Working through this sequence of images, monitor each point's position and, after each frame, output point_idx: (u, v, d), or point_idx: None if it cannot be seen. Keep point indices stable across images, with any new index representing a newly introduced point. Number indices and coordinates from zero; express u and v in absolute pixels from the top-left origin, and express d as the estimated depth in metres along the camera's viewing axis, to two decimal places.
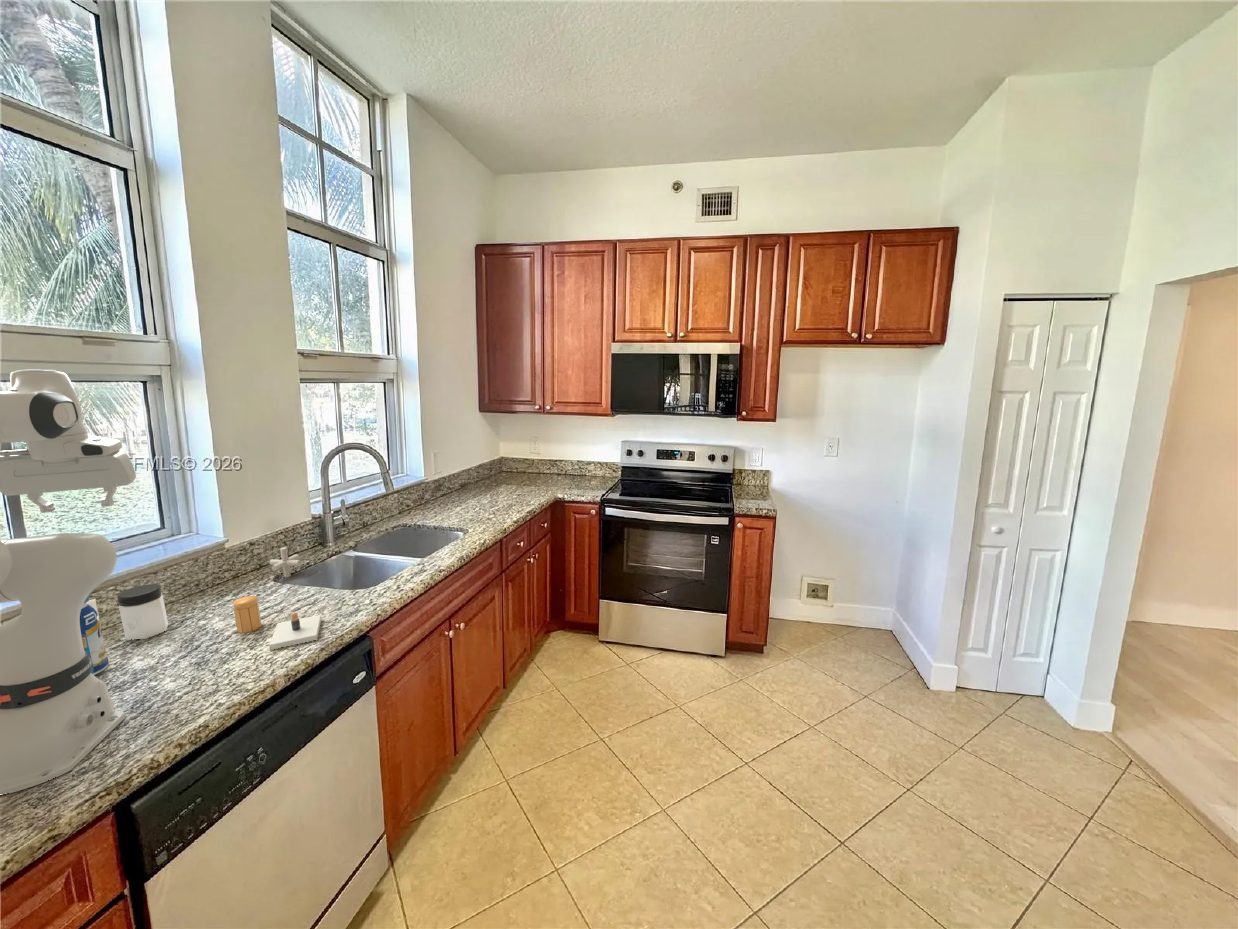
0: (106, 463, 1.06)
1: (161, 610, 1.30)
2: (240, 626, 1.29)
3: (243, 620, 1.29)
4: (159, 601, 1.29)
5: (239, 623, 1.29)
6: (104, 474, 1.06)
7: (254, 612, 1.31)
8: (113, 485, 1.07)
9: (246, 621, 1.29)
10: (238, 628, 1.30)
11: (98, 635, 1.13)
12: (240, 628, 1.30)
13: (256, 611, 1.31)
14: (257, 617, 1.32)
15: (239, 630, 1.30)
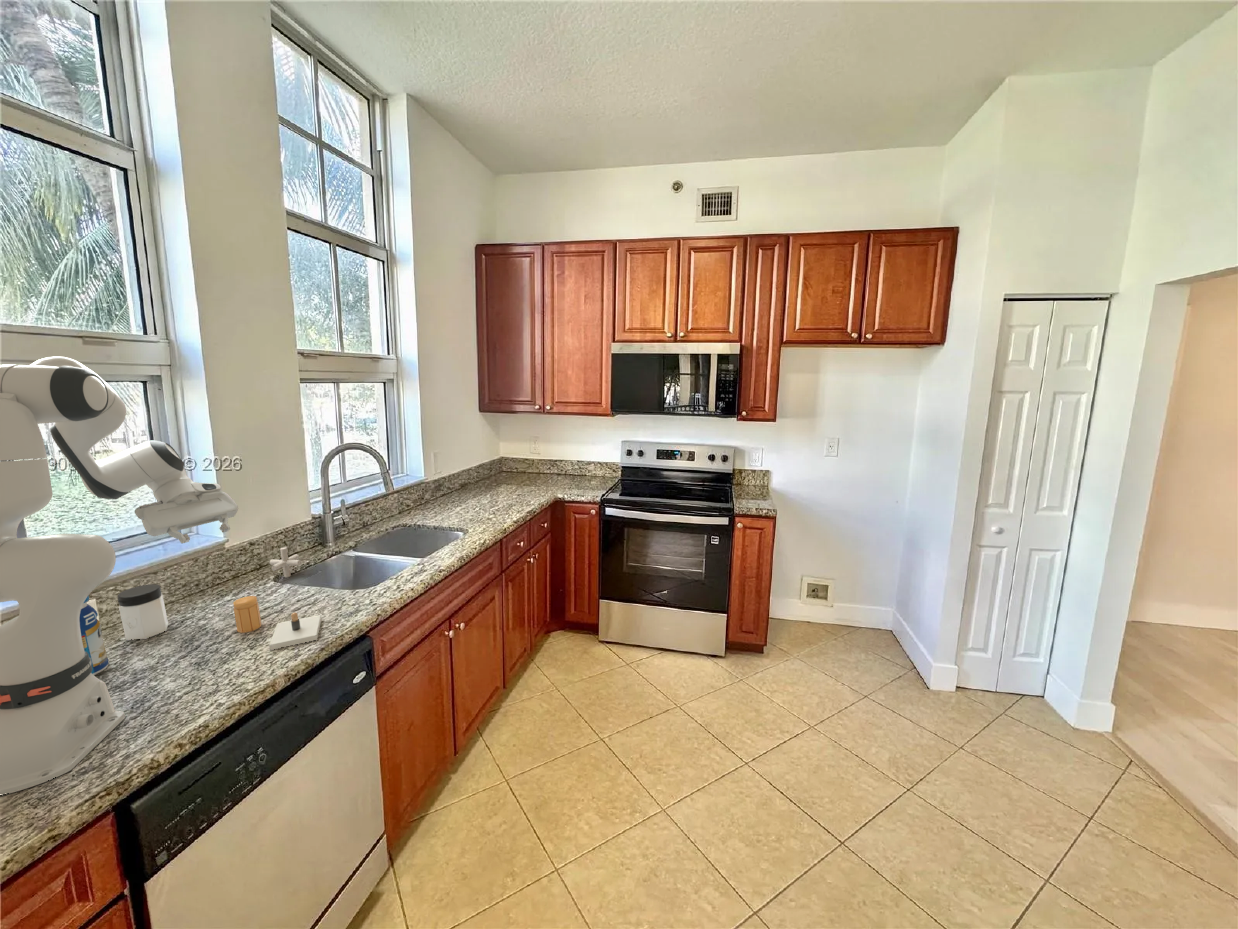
0: (218, 498, 1.40)
1: (161, 610, 1.30)
2: (240, 626, 1.29)
3: (243, 620, 1.29)
4: (159, 601, 1.29)
5: (239, 623, 1.29)
6: (219, 504, 1.38)
7: (254, 612, 1.31)
8: (228, 511, 1.39)
9: (246, 621, 1.29)
10: (238, 628, 1.30)
11: (98, 635, 1.13)
12: (240, 628, 1.30)
13: (256, 611, 1.31)
14: (257, 617, 1.32)
15: (239, 630, 1.30)
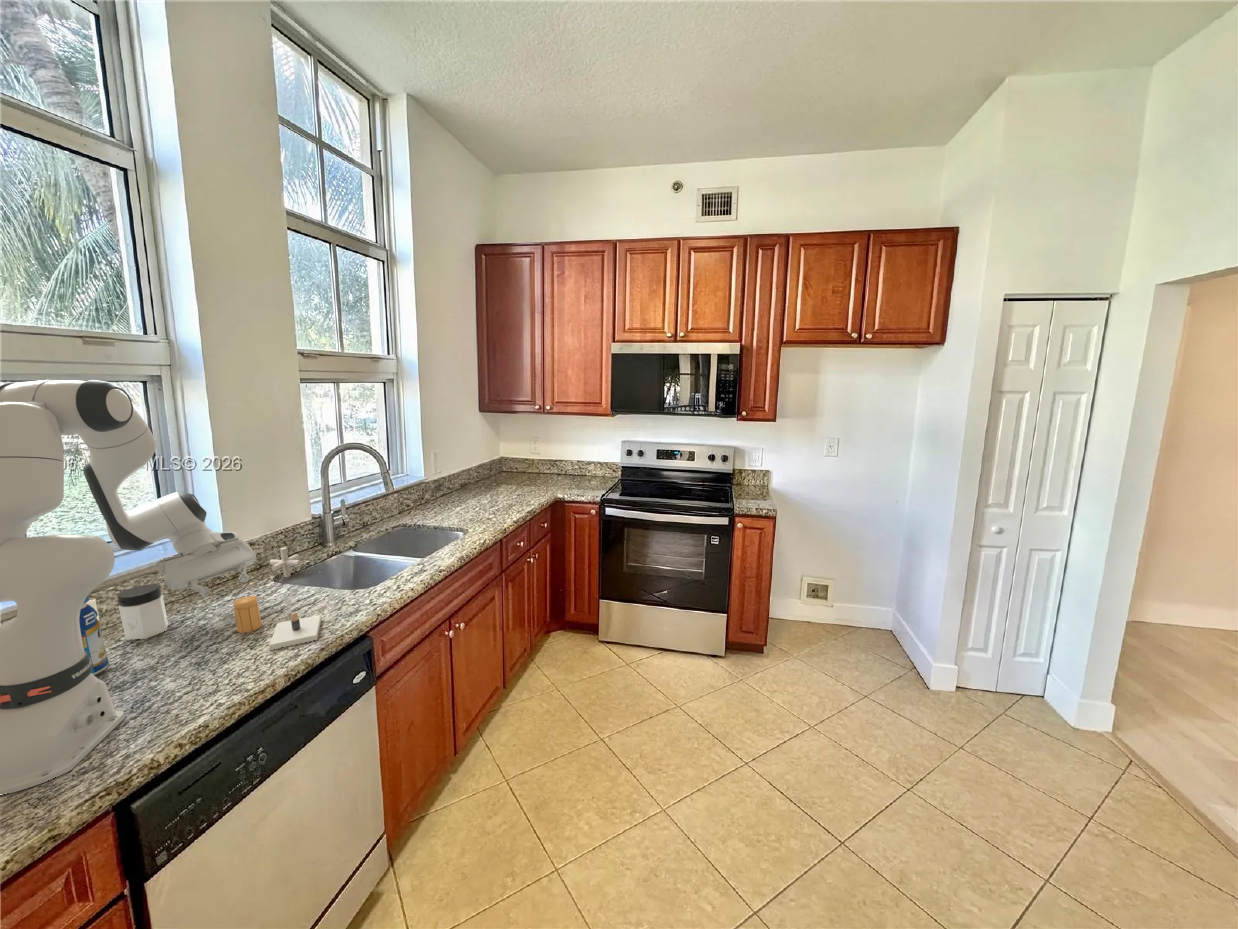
0: (236, 547, 1.40)
1: (161, 610, 1.30)
2: (240, 626, 1.29)
3: (243, 620, 1.29)
4: (159, 601, 1.29)
5: (239, 623, 1.29)
6: (238, 554, 1.39)
7: (254, 612, 1.31)
8: (247, 560, 1.40)
9: (246, 621, 1.29)
10: (238, 628, 1.30)
11: (98, 635, 1.13)
12: (240, 628, 1.30)
13: (256, 611, 1.31)
14: (257, 617, 1.32)
15: (239, 630, 1.30)
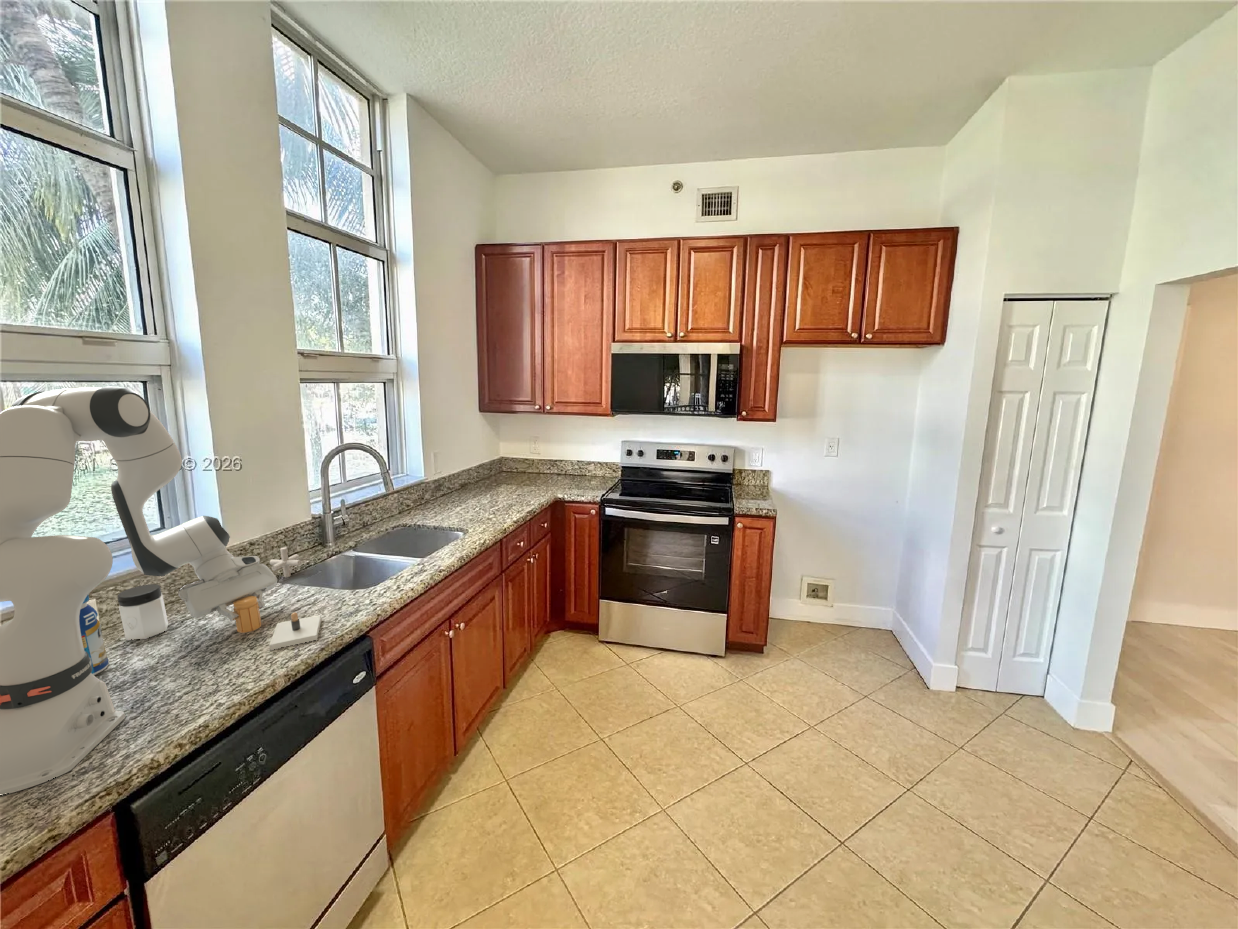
0: (257, 571, 1.38)
1: (161, 610, 1.30)
2: (240, 626, 1.29)
3: (243, 620, 1.29)
4: (159, 601, 1.29)
5: (239, 623, 1.29)
6: (259, 578, 1.37)
7: (254, 612, 1.31)
8: (268, 584, 1.38)
9: (246, 621, 1.29)
10: (238, 628, 1.30)
11: (98, 635, 1.13)
12: (240, 628, 1.30)
13: (256, 611, 1.31)
14: (257, 617, 1.32)
15: (239, 630, 1.30)
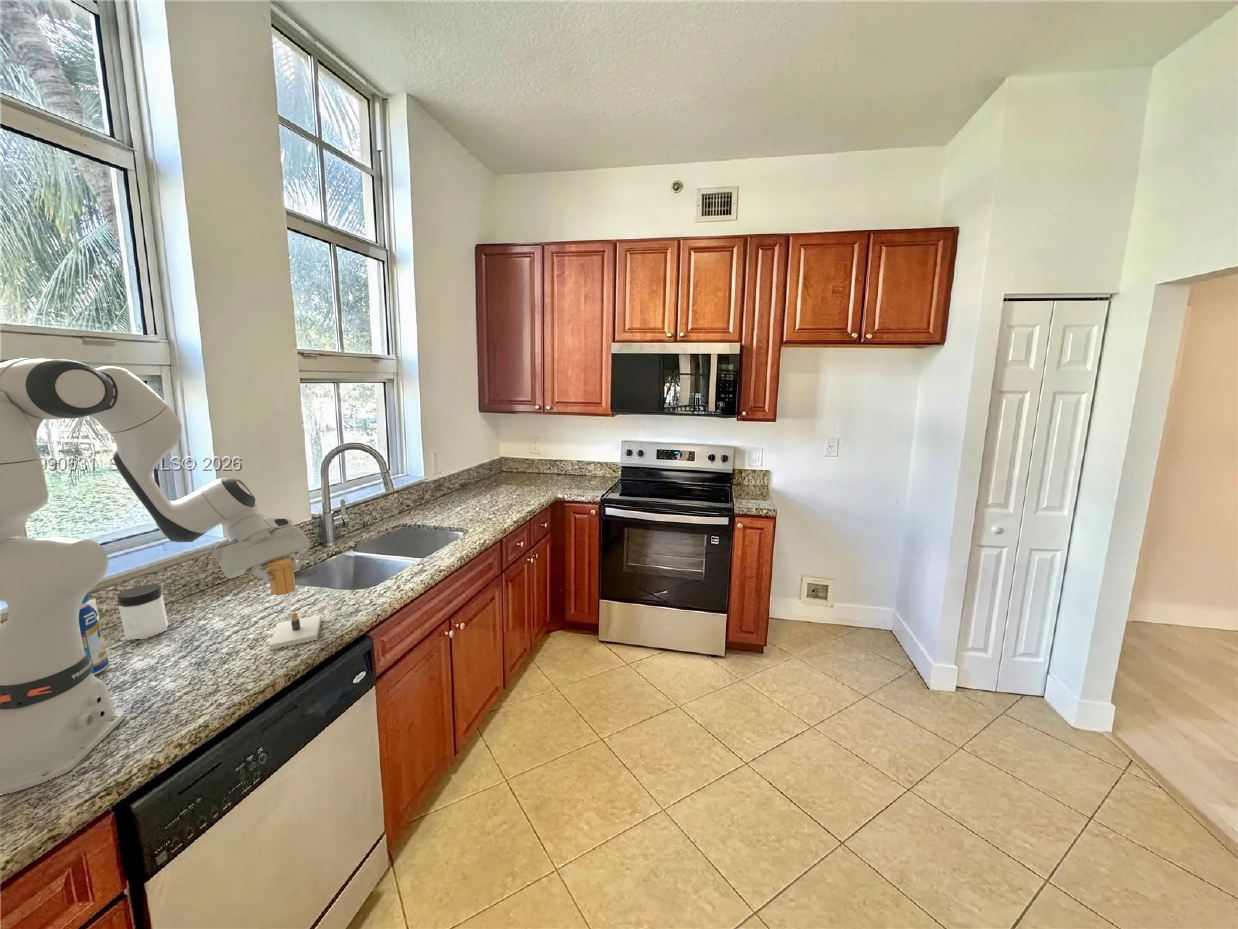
0: (290, 534, 1.33)
1: (161, 610, 1.30)
2: (275, 588, 1.24)
3: (278, 582, 1.24)
4: (159, 601, 1.29)
5: (273, 585, 1.24)
6: (292, 541, 1.32)
7: (289, 574, 1.26)
8: (301, 547, 1.32)
9: (281, 583, 1.24)
10: (273, 590, 1.25)
11: (98, 635, 1.13)
12: (275, 590, 1.24)
13: (291, 573, 1.26)
14: (292, 579, 1.27)
15: (274, 592, 1.25)
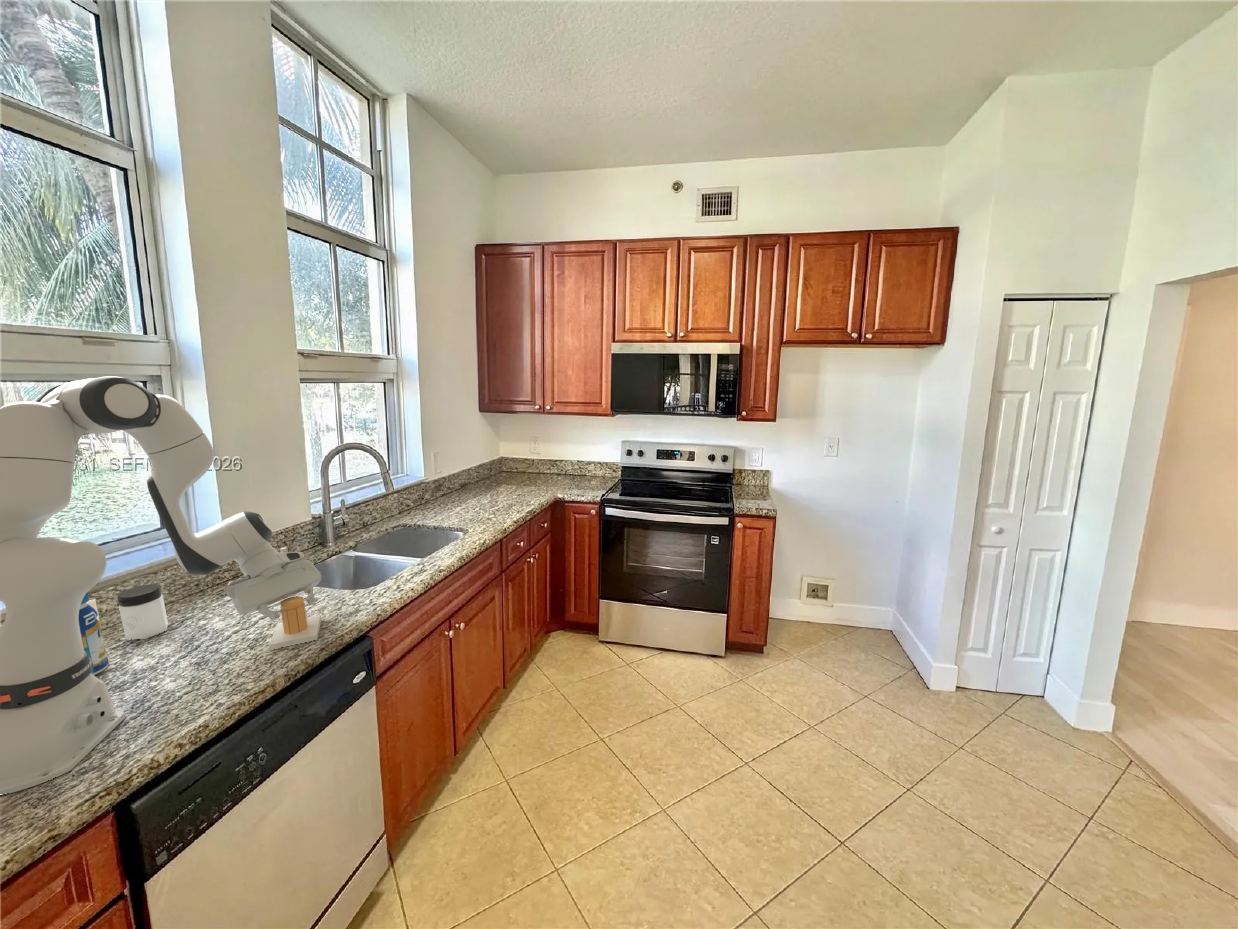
0: (302, 567, 1.34)
1: (161, 610, 1.30)
2: (287, 627, 1.25)
3: (290, 621, 1.25)
4: (159, 601, 1.29)
5: (286, 624, 1.25)
6: (304, 574, 1.33)
7: (301, 613, 1.27)
8: (313, 581, 1.34)
9: (293, 622, 1.26)
10: (285, 629, 1.26)
11: (98, 635, 1.13)
12: (287, 629, 1.26)
13: (303, 612, 1.27)
14: (304, 618, 1.28)
15: (286, 631, 1.26)
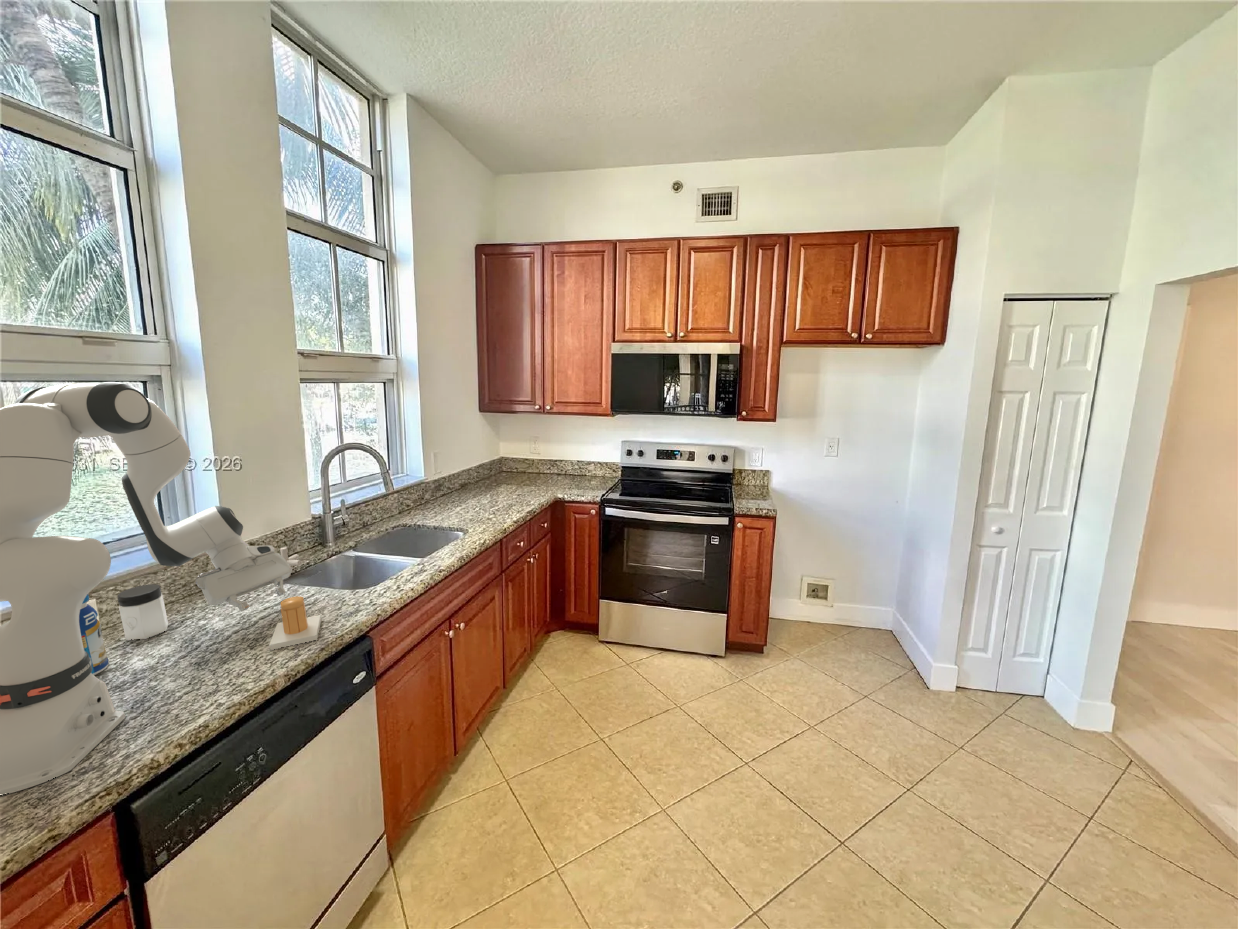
0: (272, 560, 1.39)
1: (161, 610, 1.30)
2: (287, 627, 1.25)
3: (290, 621, 1.25)
4: (159, 601, 1.29)
5: (286, 624, 1.25)
6: (274, 567, 1.38)
7: (301, 613, 1.27)
8: (283, 573, 1.39)
9: (293, 622, 1.26)
10: (285, 629, 1.26)
11: (98, 635, 1.13)
12: (287, 629, 1.26)
13: (303, 612, 1.27)
14: (304, 618, 1.28)
15: (286, 631, 1.26)
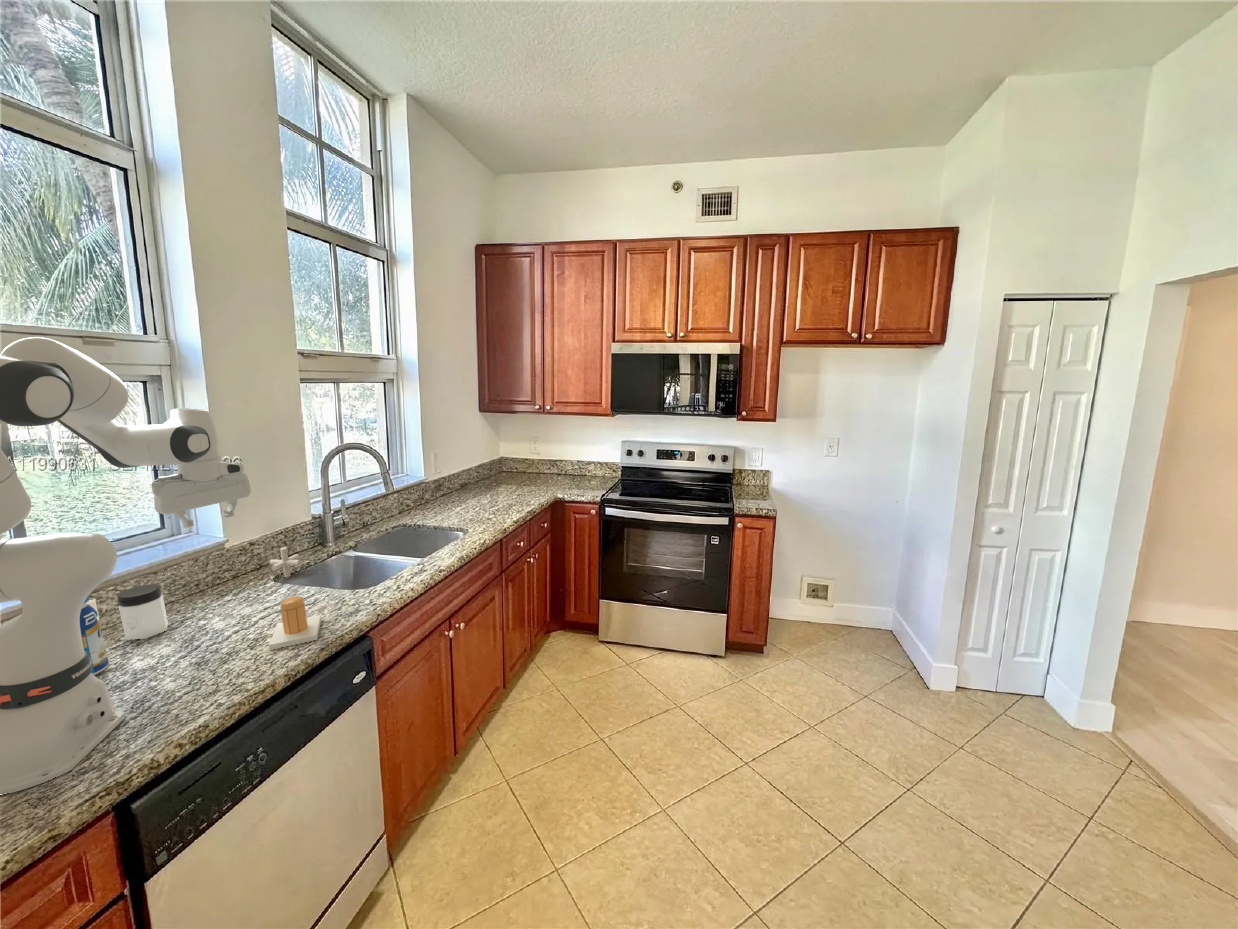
0: (236, 480, 1.33)
1: (161, 610, 1.30)
2: (287, 627, 1.25)
3: (290, 621, 1.25)
4: (159, 601, 1.29)
5: (286, 624, 1.25)
6: (235, 488, 1.33)
7: (301, 613, 1.27)
8: (240, 497, 1.34)
9: (293, 622, 1.26)
10: (285, 629, 1.26)
11: (98, 635, 1.13)
12: (287, 629, 1.26)
13: (303, 612, 1.27)
14: (304, 618, 1.28)
15: (286, 631, 1.26)
